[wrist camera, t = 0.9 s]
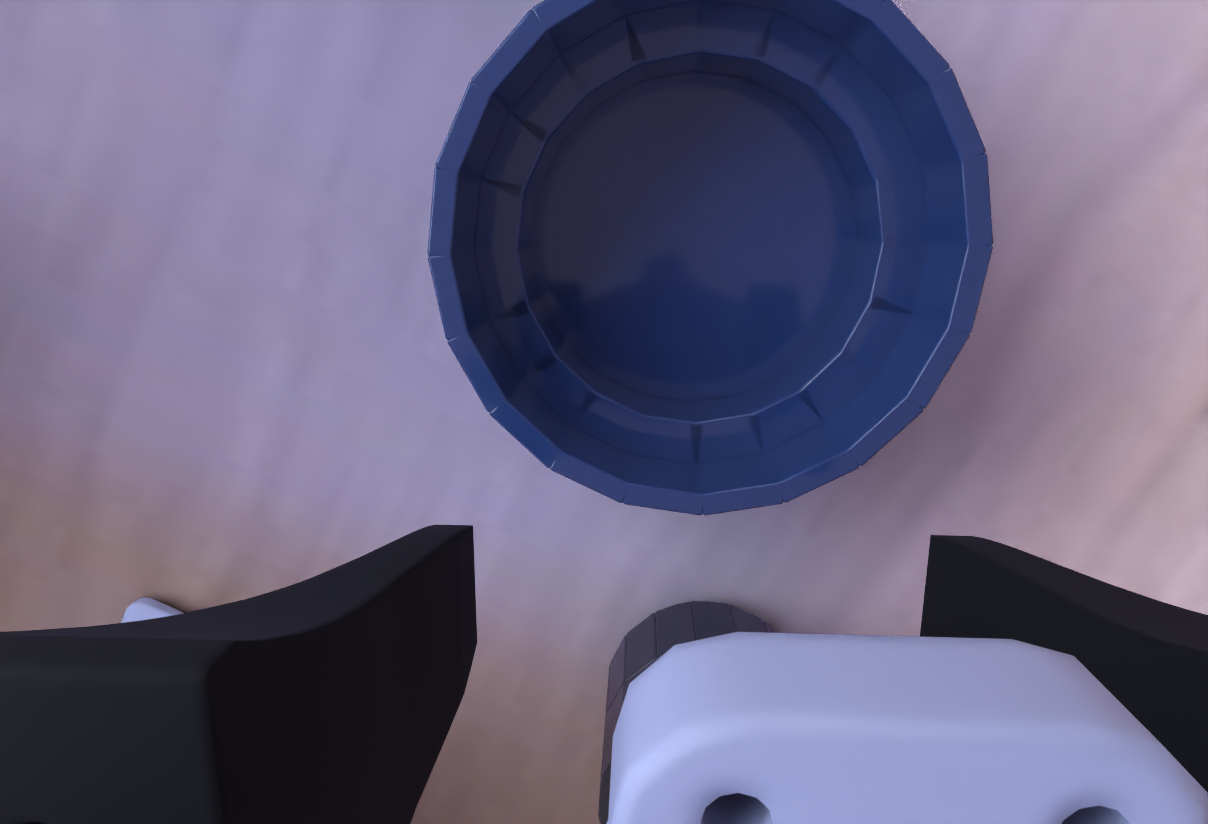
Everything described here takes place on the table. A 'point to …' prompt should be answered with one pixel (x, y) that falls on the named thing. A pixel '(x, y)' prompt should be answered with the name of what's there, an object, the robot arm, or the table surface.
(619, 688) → the dark grey hollow cylinder
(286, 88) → the table surface
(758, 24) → the big bowl
